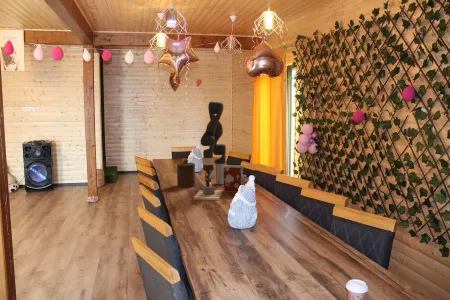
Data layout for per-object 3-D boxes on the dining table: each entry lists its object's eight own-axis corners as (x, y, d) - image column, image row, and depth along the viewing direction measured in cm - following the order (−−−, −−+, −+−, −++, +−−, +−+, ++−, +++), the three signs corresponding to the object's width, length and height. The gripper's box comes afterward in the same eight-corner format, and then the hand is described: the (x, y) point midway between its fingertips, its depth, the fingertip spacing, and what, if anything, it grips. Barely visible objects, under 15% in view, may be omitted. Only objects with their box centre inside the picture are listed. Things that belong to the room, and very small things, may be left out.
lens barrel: (204, 192, 301) (203, 185, 301) (215, 192, 300) (215, 185, 300) (202, 195, 293) (202, 188, 292) (213, 195, 292) (213, 188, 292)
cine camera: (248, 193, 304) (248, 166, 302) (222, 192, 308) (222, 166, 306) (249, 190, 313) (249, 164, 311) (225, 189, 317) (225, 164, 314)
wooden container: (193, 183, 342) (192, 157, 340) (197, 186, 328) (196, 160, 325) (176, 184, 338) (175, 158, 336) (179, 188, 324) (178, 161, 321)
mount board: (199, 191, 310) (199, 189, 310) (222, 192, 308) (222, 190, 308) (193, 199, 286) (193, 197, 286) (218, 200, 284) (218, 197, 284)
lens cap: (206, 192, 300) (206, 182, 299) (212, 193, 299) (212, 182, 298) (205, 194, 295) (205, 183, 294) (211, 194, 295) (211, 183, 294)
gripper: (204, 162, 301) (205, 183, 304) (201, 165, 287) (201, 187, 289) (214, 162, 301) (215, 183, 303) (211, 165, 287) (212, 187, 289)
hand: (208, 185), depth 296 cm, fingers open, 8 cm apart
